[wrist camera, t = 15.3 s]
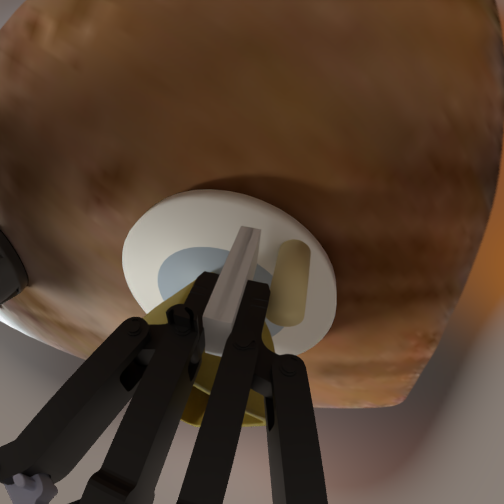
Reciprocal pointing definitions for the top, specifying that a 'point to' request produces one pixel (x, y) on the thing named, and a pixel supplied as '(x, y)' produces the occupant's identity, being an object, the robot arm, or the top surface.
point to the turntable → (217, 250)
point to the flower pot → (210, 372)
